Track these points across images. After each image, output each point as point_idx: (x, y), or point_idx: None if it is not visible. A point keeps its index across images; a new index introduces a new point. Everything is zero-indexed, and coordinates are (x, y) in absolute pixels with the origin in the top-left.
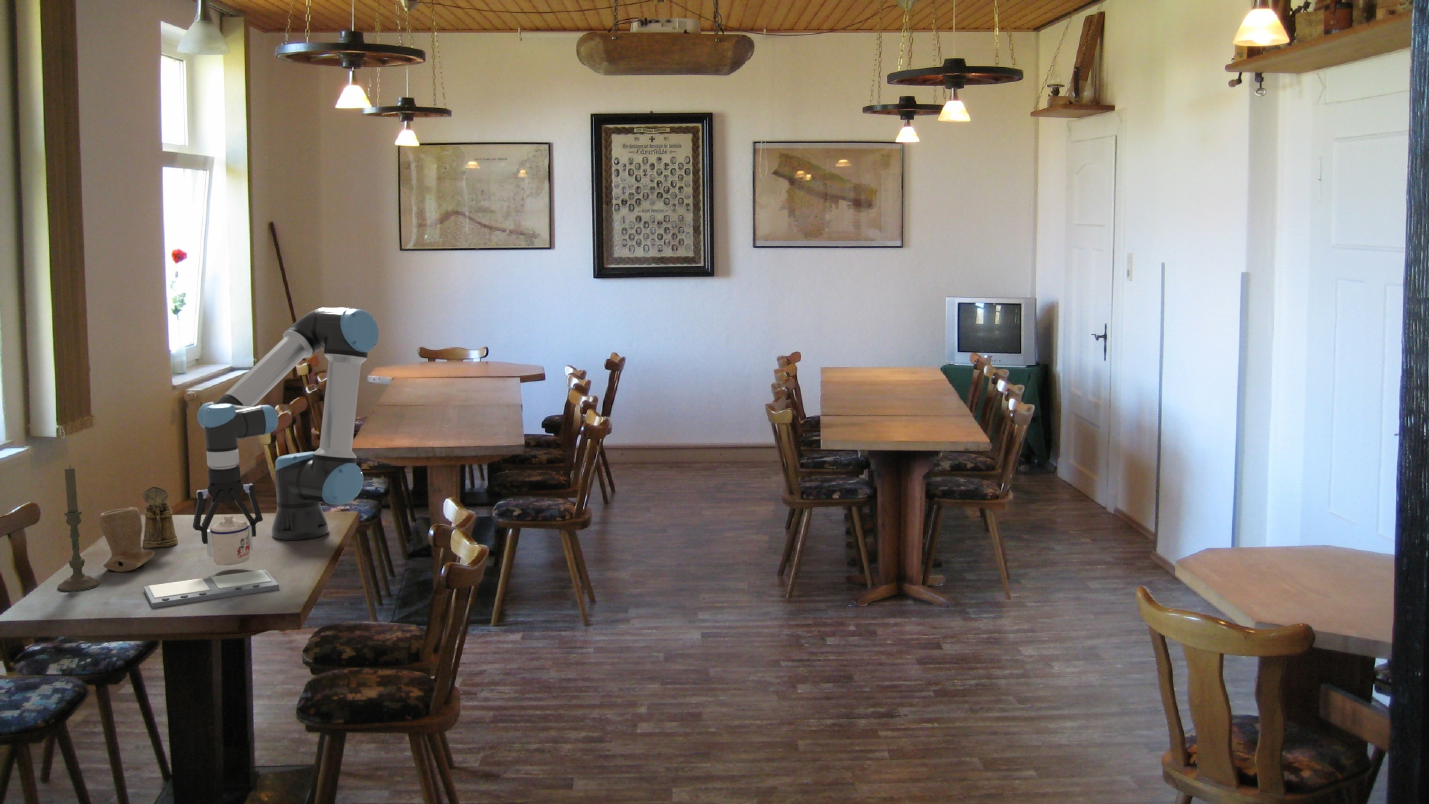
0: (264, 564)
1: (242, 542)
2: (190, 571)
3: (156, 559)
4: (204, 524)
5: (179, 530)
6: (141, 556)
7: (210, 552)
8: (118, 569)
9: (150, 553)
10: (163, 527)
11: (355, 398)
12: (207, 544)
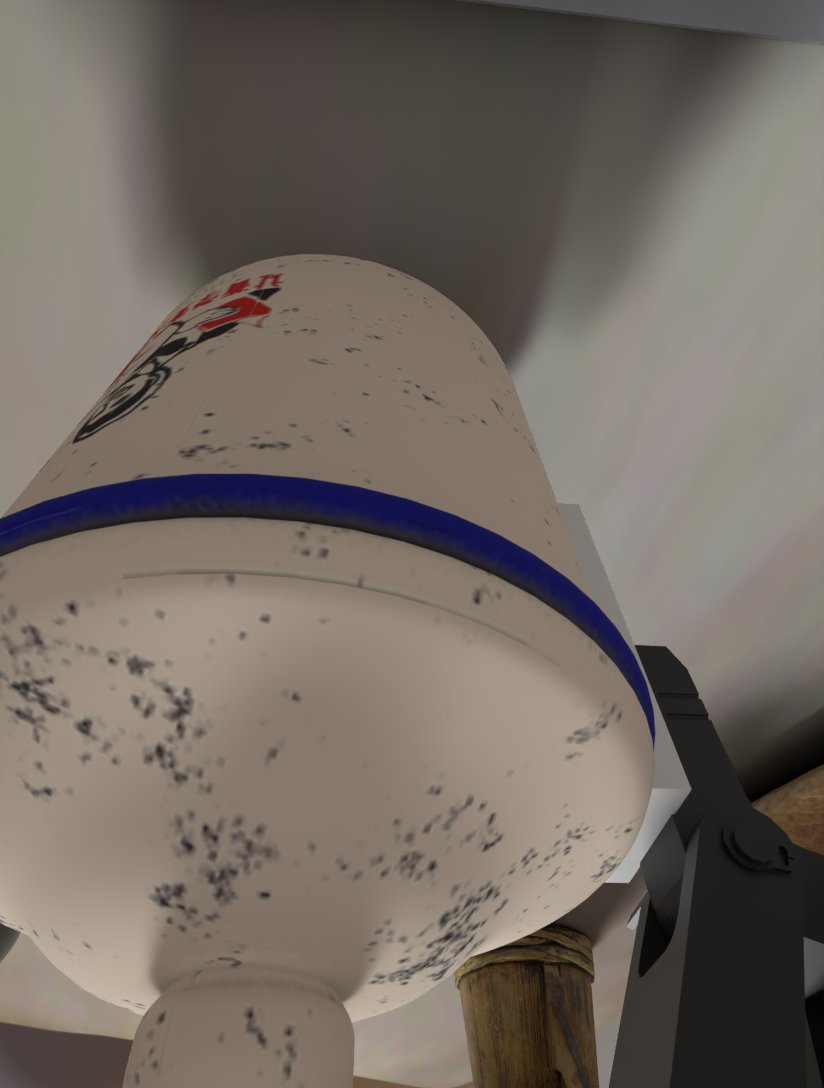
0: (41, 427)
1: (129, 394)
2: (635, 558)
3: None
4: (803, 968)
5: (396, 1014)
6: (816, 828)
7: (574, 537)
8: None
9: None
10: (535, 1038)
11: None
12: None
